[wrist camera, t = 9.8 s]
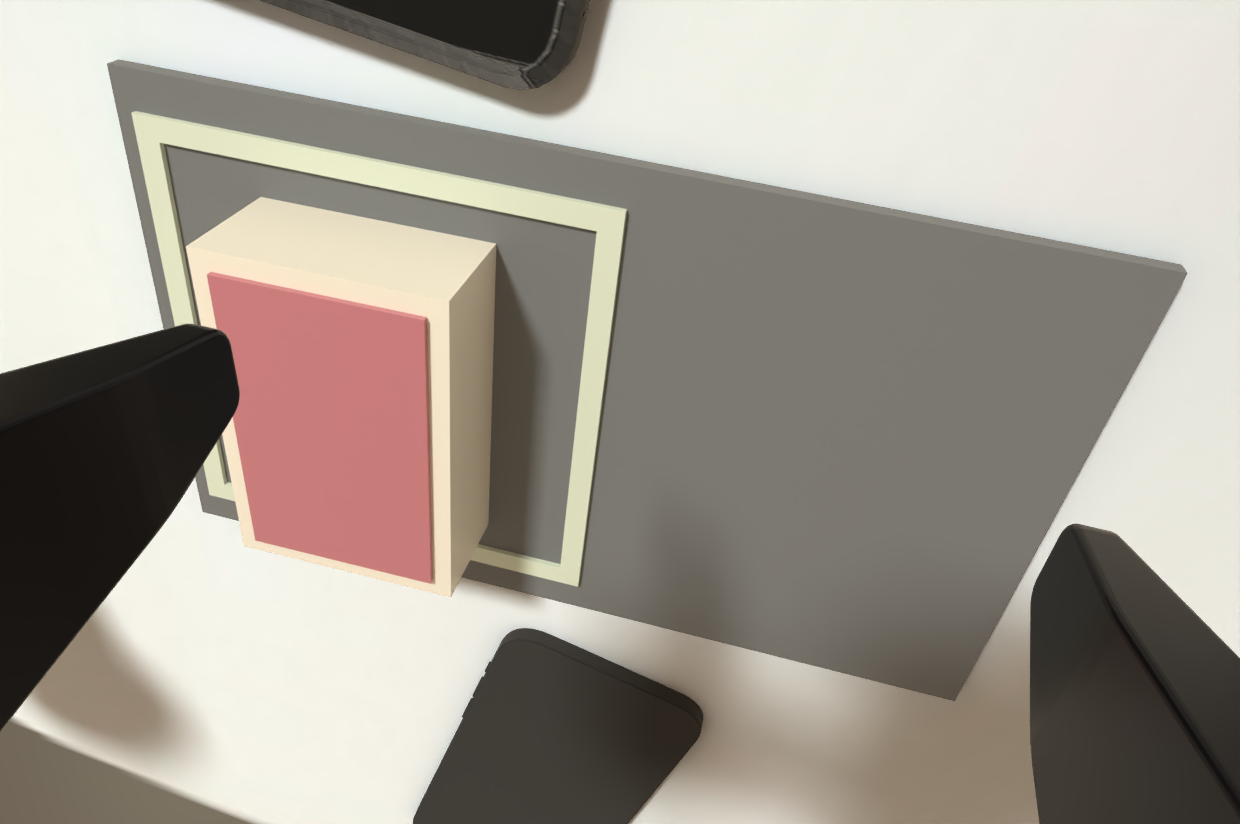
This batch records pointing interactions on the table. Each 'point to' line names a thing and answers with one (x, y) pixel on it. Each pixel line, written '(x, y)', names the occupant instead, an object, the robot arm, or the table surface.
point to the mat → (707, 371)
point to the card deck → (355, 387)
